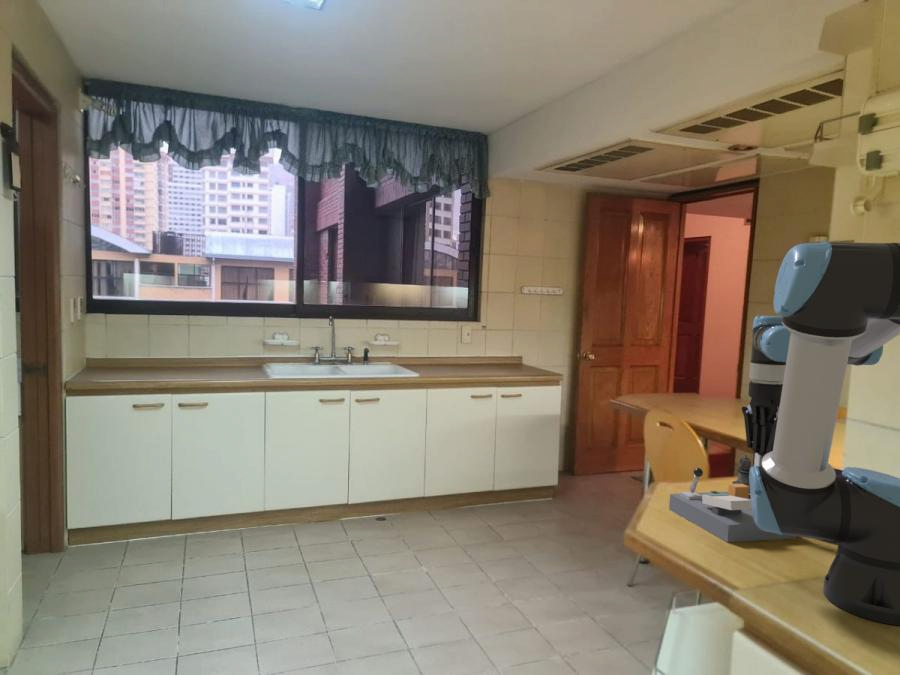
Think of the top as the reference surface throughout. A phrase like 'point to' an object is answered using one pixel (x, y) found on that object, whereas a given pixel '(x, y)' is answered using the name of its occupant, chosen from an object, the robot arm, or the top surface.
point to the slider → (739, 490)
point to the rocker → (727, 501)
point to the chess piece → (744, 472)
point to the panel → (720, 519)
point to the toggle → (695, 479)
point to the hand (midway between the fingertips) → (760, 480)
